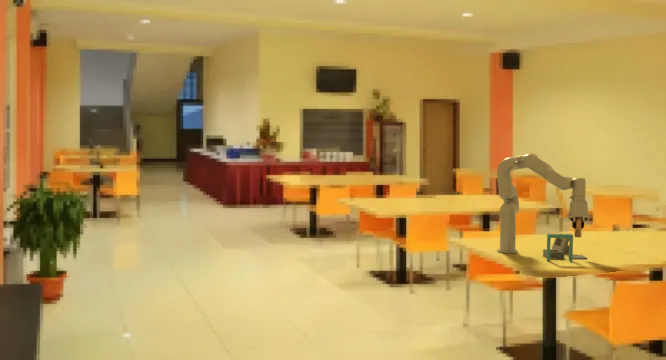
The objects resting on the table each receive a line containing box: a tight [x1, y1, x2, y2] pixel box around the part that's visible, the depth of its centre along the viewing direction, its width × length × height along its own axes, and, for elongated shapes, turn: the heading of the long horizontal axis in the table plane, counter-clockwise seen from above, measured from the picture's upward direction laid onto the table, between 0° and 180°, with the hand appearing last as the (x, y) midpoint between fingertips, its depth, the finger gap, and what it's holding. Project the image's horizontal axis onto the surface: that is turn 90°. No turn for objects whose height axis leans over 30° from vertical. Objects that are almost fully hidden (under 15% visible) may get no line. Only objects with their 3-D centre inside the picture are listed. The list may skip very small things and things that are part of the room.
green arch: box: [546, 233, 574, 262], centre depth 407 cm, size 3×14×16 cm, turn 88°
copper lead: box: [573, 217, 583, 238], centre depth 418 cm, size 4×4×12 cm
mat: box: [566, 254, 588, 260], centre depth 419 cm, size 10×9×1 cm
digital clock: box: [551, 238, 569, 254], centre depth 438 cm, size 16×9×11 cm, turn 173°
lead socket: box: [542, 248, 566, 260], centre depth 420 cm, size 10×10×4 cm
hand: (578, 228), depth 418 cm, fingers closed on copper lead, 4 cm apart
